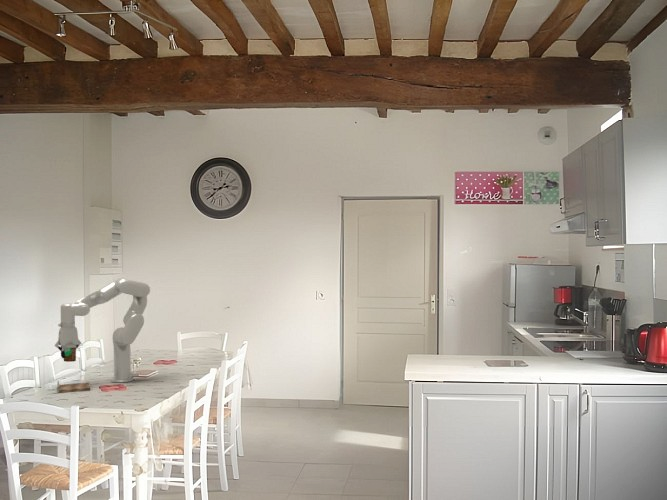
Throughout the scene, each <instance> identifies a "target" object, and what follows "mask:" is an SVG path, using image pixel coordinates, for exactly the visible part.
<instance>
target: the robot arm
mask: <svg viewBox="0 0 667 500" xmlns="http://www.w3.org/2000/svg"><path fill="white" fill-rule="evenodd" d="M150 288H151V287H150V285H148V283H146V282H142V281H136V280H131V279H128V278H116V279H114V280H113V281H111V282H110V283H109V284H106V285H105V286H103V287H102V288H99V289H98V290H96V291H94V292H92V293H90V294H88V295H86V296H84V297H83V298H81V299H79V300H77V301H75V302H74V303H62V304H61V305H60V323H58V327H60V328H59V330H58V337H57V339H58V340H57V341H56V343H55V344H54V347H56V348H57V349H58V350H59V351H60V357H61V359H64V358H65V352H64V348H63V346H65V345H66V344H76V350H77V349H78V348H79V347H80V345H82V341H80V339H79V334H78V328H77V326H76V316H77V317H85V316H87V315H88V314H89V313H90V311H91V308H93V307H95V306H98V305H103V304H106V303H108V302H109V301H111V300H112V299H115V298H116V297H118V296H120V295H121V294H124V295H125V294H126V295H130V296H132V302H131V304H130V306H129V307H128V310H127V311H126V313H125V315H124V316H123V319H122V321H123V325H124V327H118V328H116V329H115V330H114V331H113V333H112V343H113V345H112V346H113V377H112V379H111V382H112V383H129V382H133V381H134V378H138V377H140V373H135V372H134V373H133V372H131V371H132V367H131V362H132V361H131V360H132V359H131V353H132V352H131V344H133V343H134V341H136V339H137V337H138V335H139V334H140V332H141V330H142V328H143V326H144V323H145V318H144V315H143V314H144V312H145V310H146V307H147V305H148V295H150V292H151V289H150Z"/></svg>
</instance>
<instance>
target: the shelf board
mask: <svg viewBox="0 0 667 500" xmlns="http://www.w3.org/2000/svg"><path fill="white" fill-rule="evenodd" d="M56 384H57V385H56V387H57V388H56V389H57V394H63V393H75V392H76V393H77V392H89V391H91V385H90V382H82V383H81V382H78V383H69V384H68V383H67V384H66V383H65V384H60V381H57V383H56Z"/></svg>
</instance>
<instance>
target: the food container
mask: <svg viewBox="0 0 667 500" xmlns="http://www.w3.org/2000/svg"><path fill="white" fill-rule="evenodd" d="M63 348H64V352H65V358H63V362H68V363H69V362H72V363H73V362H76V361H77V359H76V358H77V349H76V344H66V345H65V346H63Z"/></svg>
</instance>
